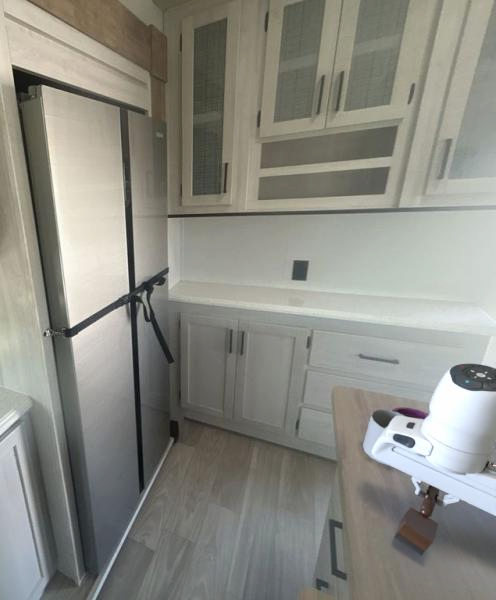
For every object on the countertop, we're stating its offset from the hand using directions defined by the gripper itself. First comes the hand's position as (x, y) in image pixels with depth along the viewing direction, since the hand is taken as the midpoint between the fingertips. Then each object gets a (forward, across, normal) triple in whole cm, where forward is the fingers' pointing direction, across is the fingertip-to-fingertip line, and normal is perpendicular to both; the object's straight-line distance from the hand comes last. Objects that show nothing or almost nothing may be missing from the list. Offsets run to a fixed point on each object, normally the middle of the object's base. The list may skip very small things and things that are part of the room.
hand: (429, 499), depth 65 cm
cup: (+6, +9, -14) cm, 18 cm away
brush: (+4, +1, +4) cm, 5 cm away
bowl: (+6, +6, -27) cm, 28 cm away
